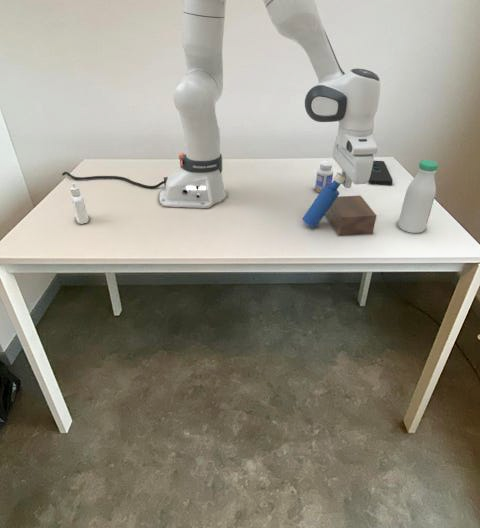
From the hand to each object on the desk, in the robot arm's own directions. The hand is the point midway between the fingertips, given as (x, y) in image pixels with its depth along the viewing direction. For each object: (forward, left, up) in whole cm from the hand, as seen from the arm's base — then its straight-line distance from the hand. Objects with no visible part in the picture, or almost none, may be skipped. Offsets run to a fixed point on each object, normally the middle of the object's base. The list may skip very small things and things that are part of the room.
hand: (345, 186), depth 115 cm
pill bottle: (+2, +24, -13) cm, 27 cm away
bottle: (-4, 0, -12) cm, 13 cm away
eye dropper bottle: (-77, +11, -13) cm, 79 cm away
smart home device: (+26, +36, -13) cm, 46 cm away
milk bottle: (+21, -4, -13) cm, 24 cm away
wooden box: (+3, 0, -12) cm, 13 cm away
